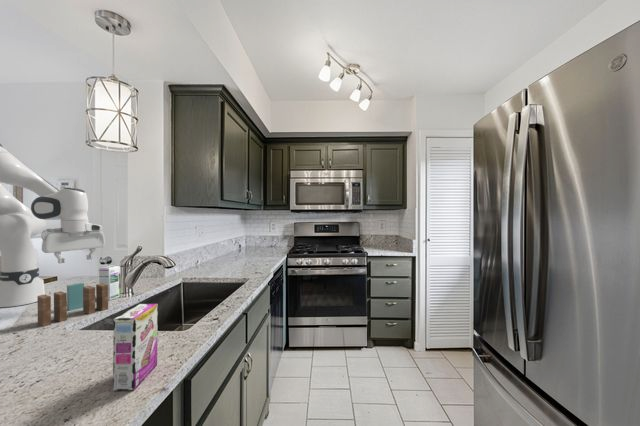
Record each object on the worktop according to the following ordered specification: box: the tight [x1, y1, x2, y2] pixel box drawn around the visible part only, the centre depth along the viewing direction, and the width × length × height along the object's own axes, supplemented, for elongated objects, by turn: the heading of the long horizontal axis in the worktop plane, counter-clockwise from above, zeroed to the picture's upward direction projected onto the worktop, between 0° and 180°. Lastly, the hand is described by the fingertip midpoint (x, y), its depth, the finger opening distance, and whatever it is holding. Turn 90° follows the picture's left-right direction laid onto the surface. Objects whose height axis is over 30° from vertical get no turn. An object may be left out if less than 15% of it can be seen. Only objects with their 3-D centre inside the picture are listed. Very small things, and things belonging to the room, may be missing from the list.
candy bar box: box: [112, 303, 159, 392], centre depth 70 cm, size 11×5×16 cm, turn 5°
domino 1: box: [37, 293, 52, 327], centre depth 103 cm, size 2×5×10 cm, turn 61°
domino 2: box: [53, 290, 68, 323], centre depth 107 cm, size 2×5×10 cm, turn 61°
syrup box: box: [98, 265, 122, 301], centre depth 133 cm, size 6×6×14 cm
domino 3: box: [66, 282, 85, 312], centre depth 119 cm, size 2×5×10 cm, turn 151°
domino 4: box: [82, 285, 96, 315], centre depth 115 cm, size 2×5×10 cm, turn 61°
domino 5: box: [95, 283, 109, 312], centre depth 119 cm, size 2×5×10 cm, turn 61°
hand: (75, 261), depth 119 cm, fingers open, 8 cm apart
